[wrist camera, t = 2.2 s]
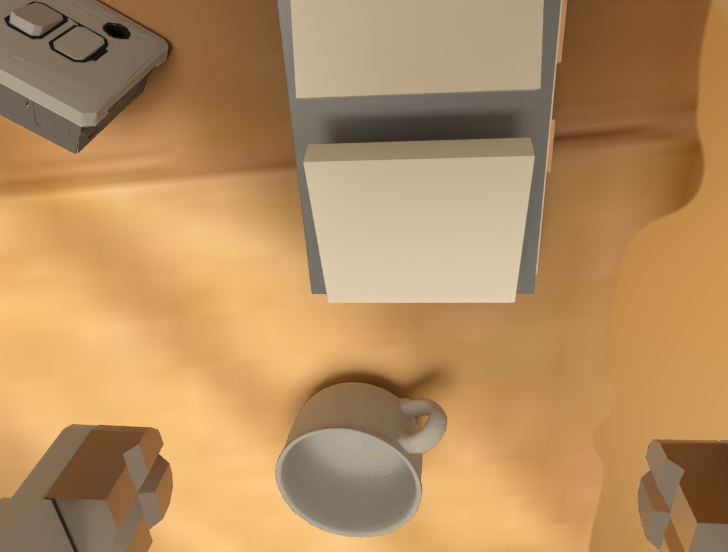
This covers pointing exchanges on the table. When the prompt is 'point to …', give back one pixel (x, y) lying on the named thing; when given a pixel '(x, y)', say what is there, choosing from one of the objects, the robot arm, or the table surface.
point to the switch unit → (433, 129)
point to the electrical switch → (71, 66)
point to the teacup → (357, 459)
